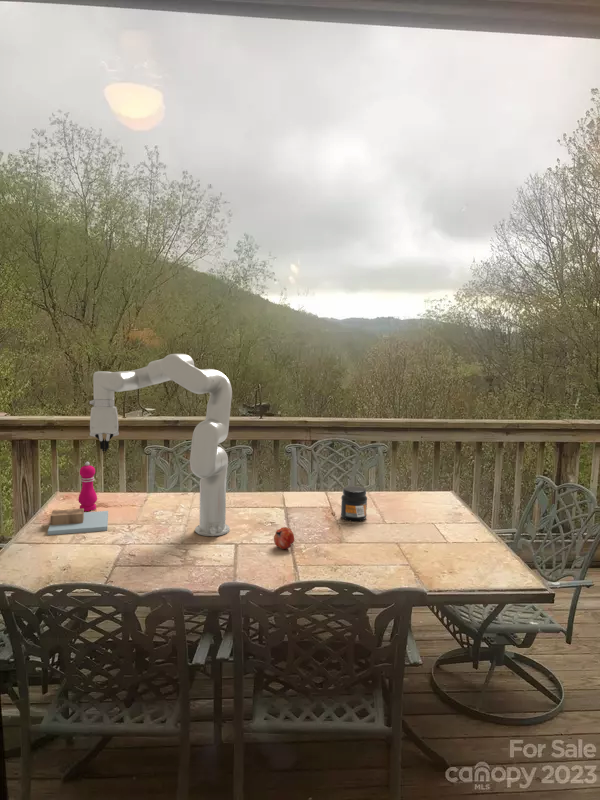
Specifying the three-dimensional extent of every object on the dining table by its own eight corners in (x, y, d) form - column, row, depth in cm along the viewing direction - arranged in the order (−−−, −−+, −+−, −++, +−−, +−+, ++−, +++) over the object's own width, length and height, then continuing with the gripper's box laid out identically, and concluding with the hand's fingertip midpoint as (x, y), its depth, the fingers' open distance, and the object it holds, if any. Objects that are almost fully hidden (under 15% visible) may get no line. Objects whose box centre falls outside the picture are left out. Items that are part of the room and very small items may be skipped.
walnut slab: (82, 513, 204) (50, 515, 201) (82, 522, 204) (50, 525, 201) (83, 508, 211) (52, 510, 207) (83, 517, 211) (52, 519, 208)
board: (107, 530, 201) (107, 526, 201) (47, 535, 195) (47, 531, 195) (108, 514, 220) (108, 510, 220) (53, 518, 214) (53, 514, 214)
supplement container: (363, 523, 217) (364, 493, 216) (337, 519, 220) (338, 490, 219) (368, 515, 227) (370, 487, 226) (344, 512, 230) (345, 484, 229)
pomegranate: (282, 549, 193) (263, 536, 188) (294, 531, 194) (276, 518, 189) (293, 558, 187) (274, 545, 182) (305, 540, 188) (287, 527, 183)
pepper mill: (90, 505, 231) (90, 459, 229) (100, 509, 227) (100, 461, 225) (74, 509, 225) (74, 461, 223) (85, 513, 221) (84, 464, 219)
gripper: (82, 404, 204) (83, 453, 206) (124, 404, 209) (125, 451, 210) (83, 402, 211) (84, 449, 213) (124, 402, 216) (124, 448, 217)
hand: (104, 450), depth 212 cm, fingers closed
